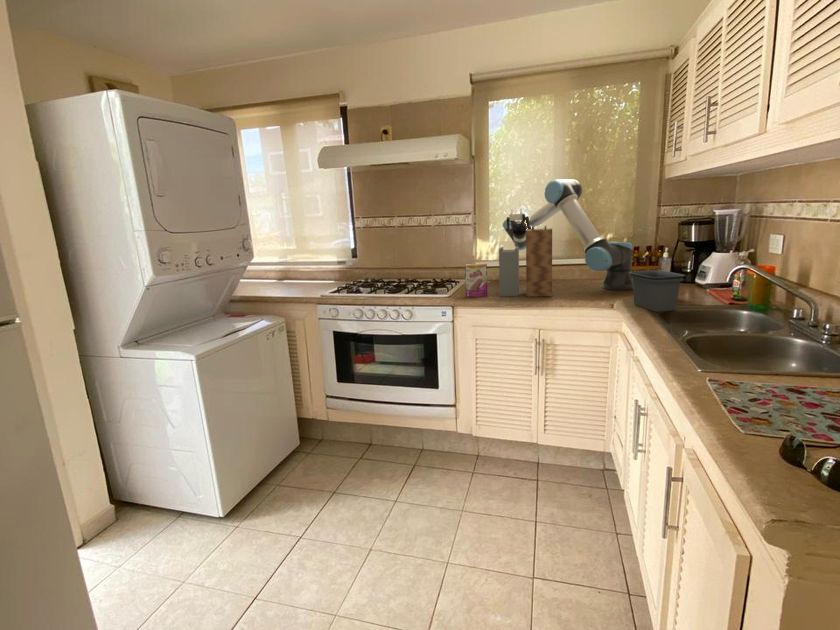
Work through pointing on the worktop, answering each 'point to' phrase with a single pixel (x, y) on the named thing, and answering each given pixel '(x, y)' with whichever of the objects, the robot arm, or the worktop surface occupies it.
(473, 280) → the candy bar box
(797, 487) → the worktop surface
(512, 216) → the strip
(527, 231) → the stand
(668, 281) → the storage bin
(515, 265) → the rack
